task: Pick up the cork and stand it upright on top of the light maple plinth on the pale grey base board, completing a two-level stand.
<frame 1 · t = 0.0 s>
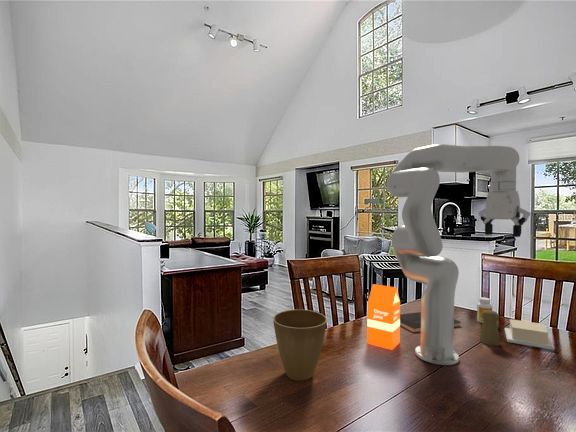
hand: (502, 235, 117), 37 cm above the table, tool pointing down, fingers open, 9 cm apart
plinth stand: (527, 339, 118), on the table
orange juice: (383, 343, 113), on the table
hardcover book: (423, 324, 135), on the table
supplement bottle: (484, 322, 136), on the table
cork: (489, 342, 115), on the table
plant pot: (299, 375, 91), on the table
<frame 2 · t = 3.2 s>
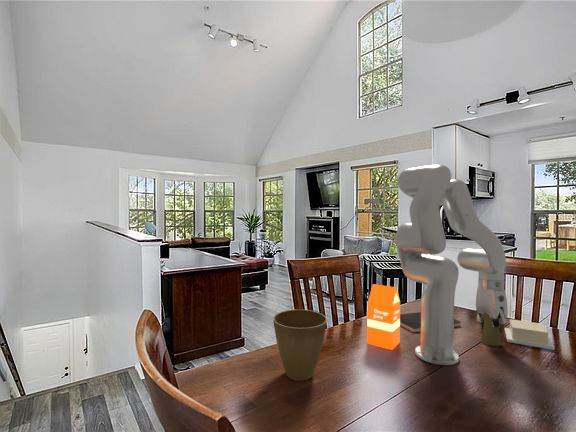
hand: (489, 335, 115), 2 cm above the table, tool pointing down, fingers closed on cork, 2 cm apart
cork: (490, 343, 114), on the table, touching gripper
everything else where it was.
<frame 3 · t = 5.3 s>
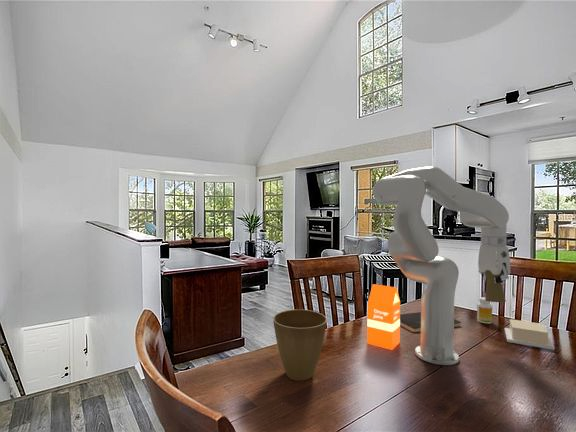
hand: (492, 293, 115), 17 cm above the table, tool pointing down, fingers closed on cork, 2 cm apart
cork: (495, 301, 113), point 15 cm above the table, touching gripper
everything else where it was.
when the fingers open (8 cm above the table, at t = 7.5 s): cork stays where it is, resting on plinth stand.
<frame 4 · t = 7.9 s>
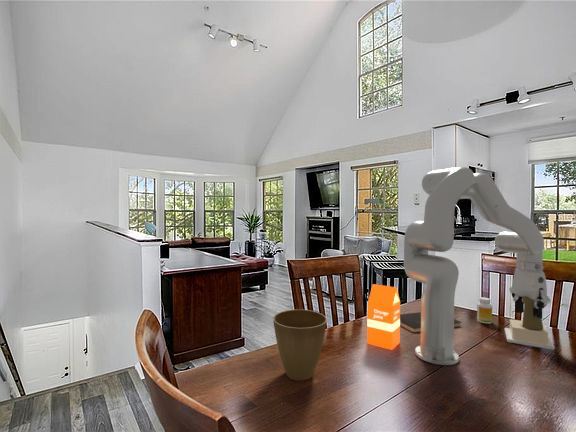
hand: (527, 315, 118), 9 cm above the table, tool pointing down, fingers open, 7 cm apart
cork: (532, 327, 115), point 5 cm above the table, touching plinth stand
everything else where it was.
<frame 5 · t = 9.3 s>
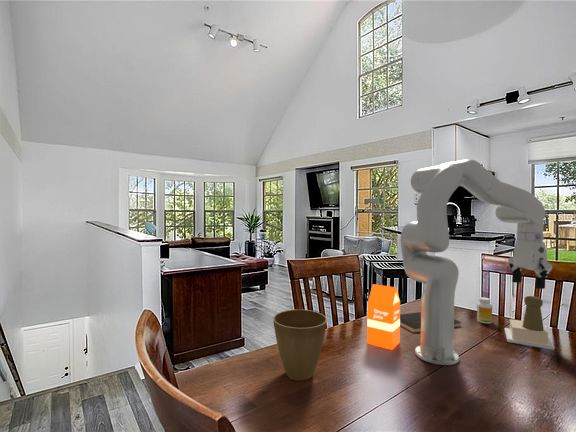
hand: (527, 285, 117), 20 cm above the table, tool pointing down, fingers open, 9 cm apart
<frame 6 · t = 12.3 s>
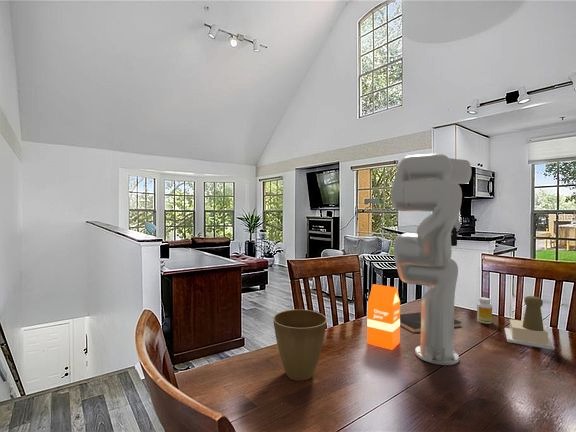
hand: (444, 244, 124), 33 cm above the table, tool pointing down, fingers open, 9 cm apart
nothing on the table moved.
at the end: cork 2.4 cm off-centre on the plinth stand, point 4.8 cm above the plinth stand's base; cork tilted 0°; the gripper is holding nothing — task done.
